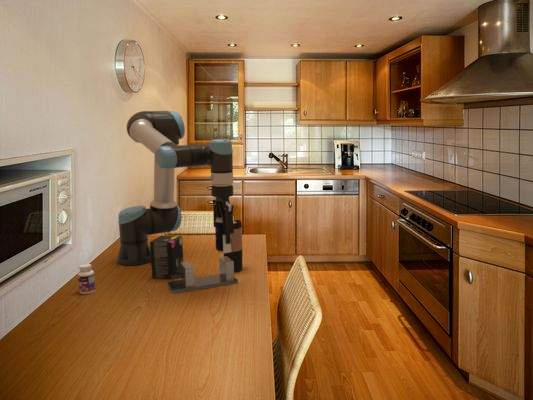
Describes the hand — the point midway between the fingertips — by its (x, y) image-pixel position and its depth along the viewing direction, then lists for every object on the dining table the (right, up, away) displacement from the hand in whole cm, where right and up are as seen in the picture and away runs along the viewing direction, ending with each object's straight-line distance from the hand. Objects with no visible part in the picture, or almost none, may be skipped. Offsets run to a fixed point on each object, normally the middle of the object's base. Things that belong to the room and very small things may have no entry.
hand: (223, 250), depth 163 cm
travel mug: (+2, -11, +24) cm, 26 cm away
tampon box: (-24, -12, +20) cm, 33 cm away
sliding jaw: (-16, -13, +5) cm, 21 cm away
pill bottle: (-49, -15, +2) cm, 51 cm away
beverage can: (0, -1, 0) cm, 1 cm away
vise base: (-9, -13, +8) cm, 18 cm away
